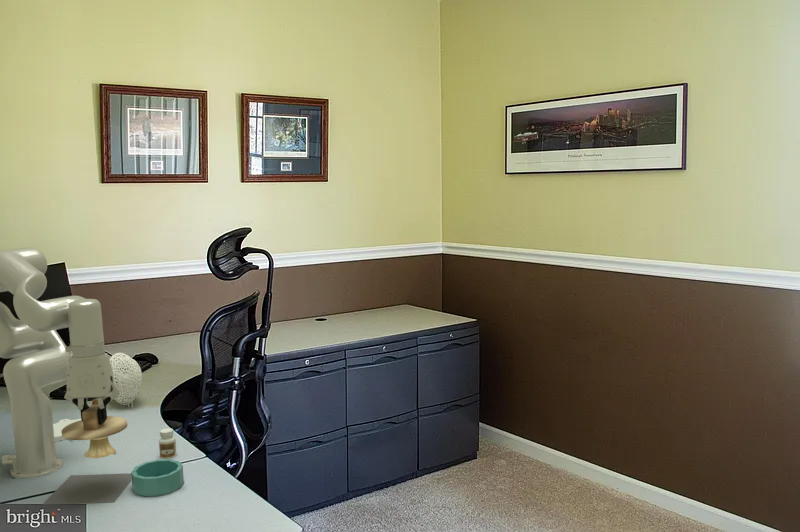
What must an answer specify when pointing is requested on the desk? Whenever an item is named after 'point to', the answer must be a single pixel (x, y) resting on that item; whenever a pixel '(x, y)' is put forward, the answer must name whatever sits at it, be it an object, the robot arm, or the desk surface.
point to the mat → (90, 489)
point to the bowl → (157, 477)
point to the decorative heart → (126, 377)
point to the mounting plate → (60, 426)
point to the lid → (93, 426)
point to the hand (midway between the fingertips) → (94, 422)
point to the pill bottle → (167, 444)
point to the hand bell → (99, 445)
